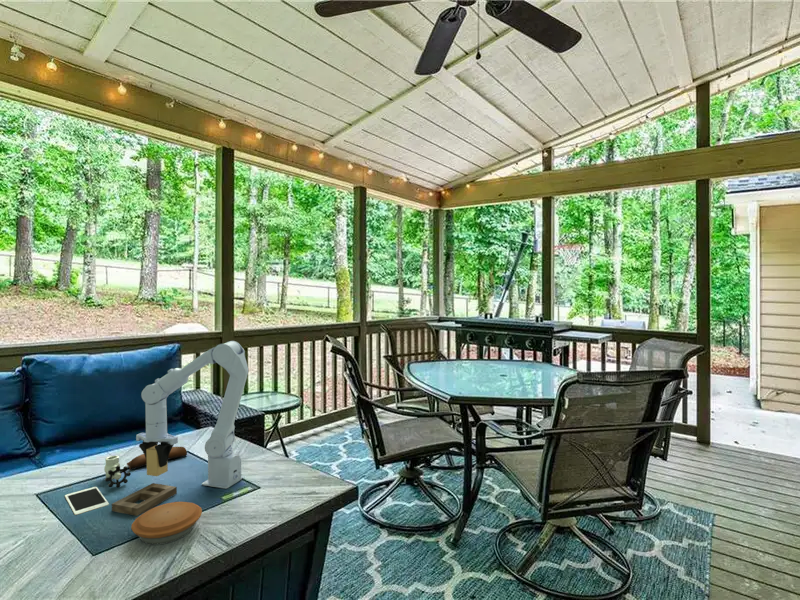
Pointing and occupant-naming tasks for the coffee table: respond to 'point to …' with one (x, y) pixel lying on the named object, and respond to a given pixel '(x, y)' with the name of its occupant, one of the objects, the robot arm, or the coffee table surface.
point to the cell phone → (86, 500)
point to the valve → (115, 471)
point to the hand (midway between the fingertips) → (157, 465)
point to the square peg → (154, 463)
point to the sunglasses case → (142, 461)
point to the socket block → (150, 494)
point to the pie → (166, 522)
